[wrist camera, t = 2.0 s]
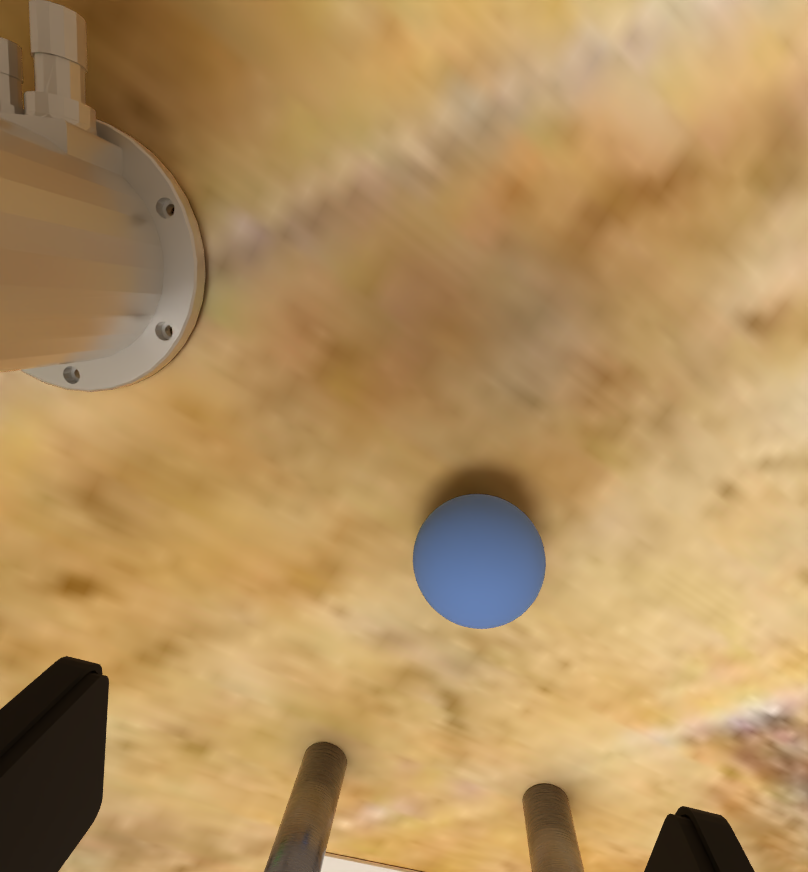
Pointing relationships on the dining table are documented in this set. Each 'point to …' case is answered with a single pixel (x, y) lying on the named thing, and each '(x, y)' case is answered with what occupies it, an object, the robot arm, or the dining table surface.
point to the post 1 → (309, 812)
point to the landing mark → (355, 865)
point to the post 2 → (550, 830)
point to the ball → (479, 561)
